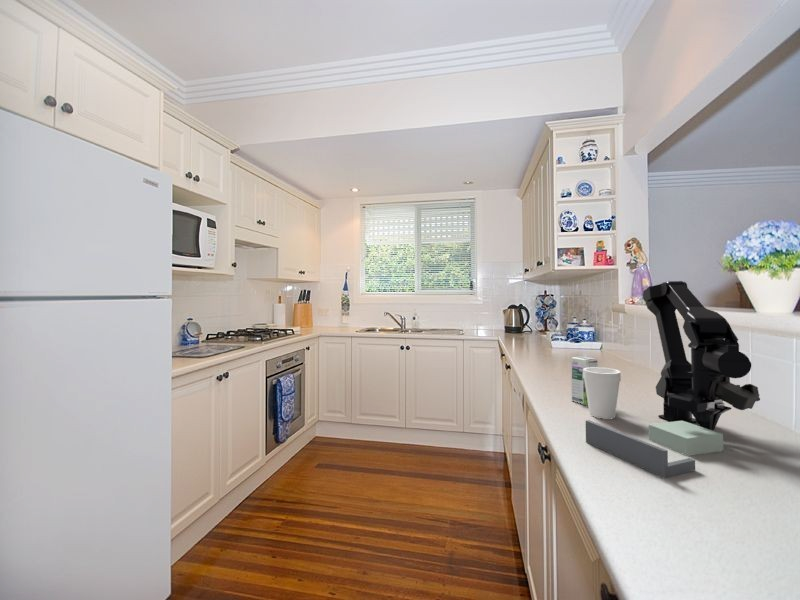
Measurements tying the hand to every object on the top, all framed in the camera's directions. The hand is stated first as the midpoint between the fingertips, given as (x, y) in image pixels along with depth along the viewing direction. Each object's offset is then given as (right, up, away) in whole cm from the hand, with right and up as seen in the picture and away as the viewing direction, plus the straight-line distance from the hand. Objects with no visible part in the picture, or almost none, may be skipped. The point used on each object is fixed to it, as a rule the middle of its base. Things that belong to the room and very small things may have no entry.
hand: (708, 435), depth 83 cm
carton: (-7, -2, -2) cm, 8 cm away
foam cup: (-14, -2, +19) cm, 23 cm away
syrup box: (-13, -2, +32) cm, 34 cm away
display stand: (-22, -1, -7) cm, 23 cm away
